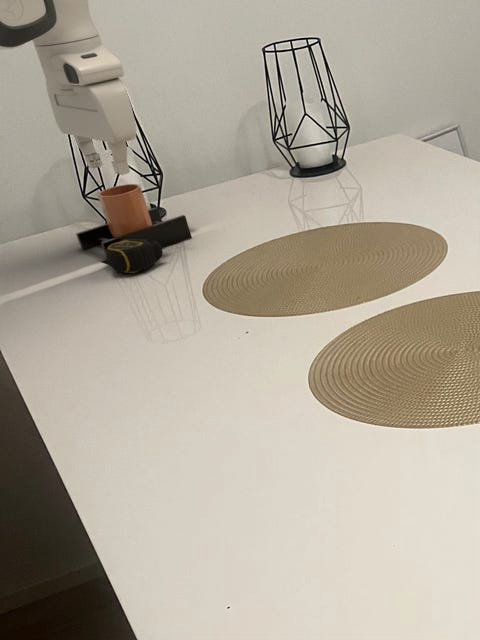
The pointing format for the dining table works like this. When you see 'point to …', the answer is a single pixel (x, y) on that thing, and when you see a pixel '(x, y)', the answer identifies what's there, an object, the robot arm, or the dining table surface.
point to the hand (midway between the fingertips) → (109, 170)
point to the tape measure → (133, 254)
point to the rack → (138, 233)
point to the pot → (124, 209)
